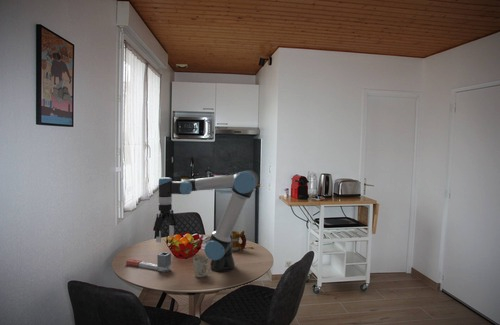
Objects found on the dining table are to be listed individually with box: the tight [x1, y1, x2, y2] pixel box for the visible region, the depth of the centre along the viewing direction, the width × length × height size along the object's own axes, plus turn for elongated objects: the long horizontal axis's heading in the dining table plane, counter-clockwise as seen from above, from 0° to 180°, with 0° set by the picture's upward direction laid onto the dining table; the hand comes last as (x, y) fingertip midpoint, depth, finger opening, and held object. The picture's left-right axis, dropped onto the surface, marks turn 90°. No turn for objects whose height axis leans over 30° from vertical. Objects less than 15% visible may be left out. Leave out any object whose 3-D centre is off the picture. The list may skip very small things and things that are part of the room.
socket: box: [156, 251, 172, 268], centre depth 190 cm, size 6×6×7 cm
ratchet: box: [125, 258, 171, 274], centre depth 194 cm, size 30×7×8 cm, turn 71°
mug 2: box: [232, 230, 247, 253], centre depth 231 cm, size 11×16×15 cm, turn 72°
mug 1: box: [192, 255, 211, 278], centre depth 183 cm, size 8×13×10 cm, turn 51°
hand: (165, 239), depth 189 cm, fingers open, 13 cm apart
